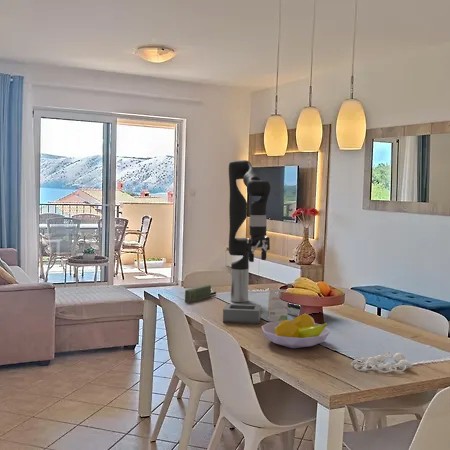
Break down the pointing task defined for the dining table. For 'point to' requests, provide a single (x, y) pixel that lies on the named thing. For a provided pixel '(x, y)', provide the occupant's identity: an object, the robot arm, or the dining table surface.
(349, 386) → the dining table surface
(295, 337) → the fruit bowl
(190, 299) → the handheld radio
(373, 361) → the tangled rod sculpture
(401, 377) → the dining table surface
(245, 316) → the desk holder
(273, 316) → the ink box
